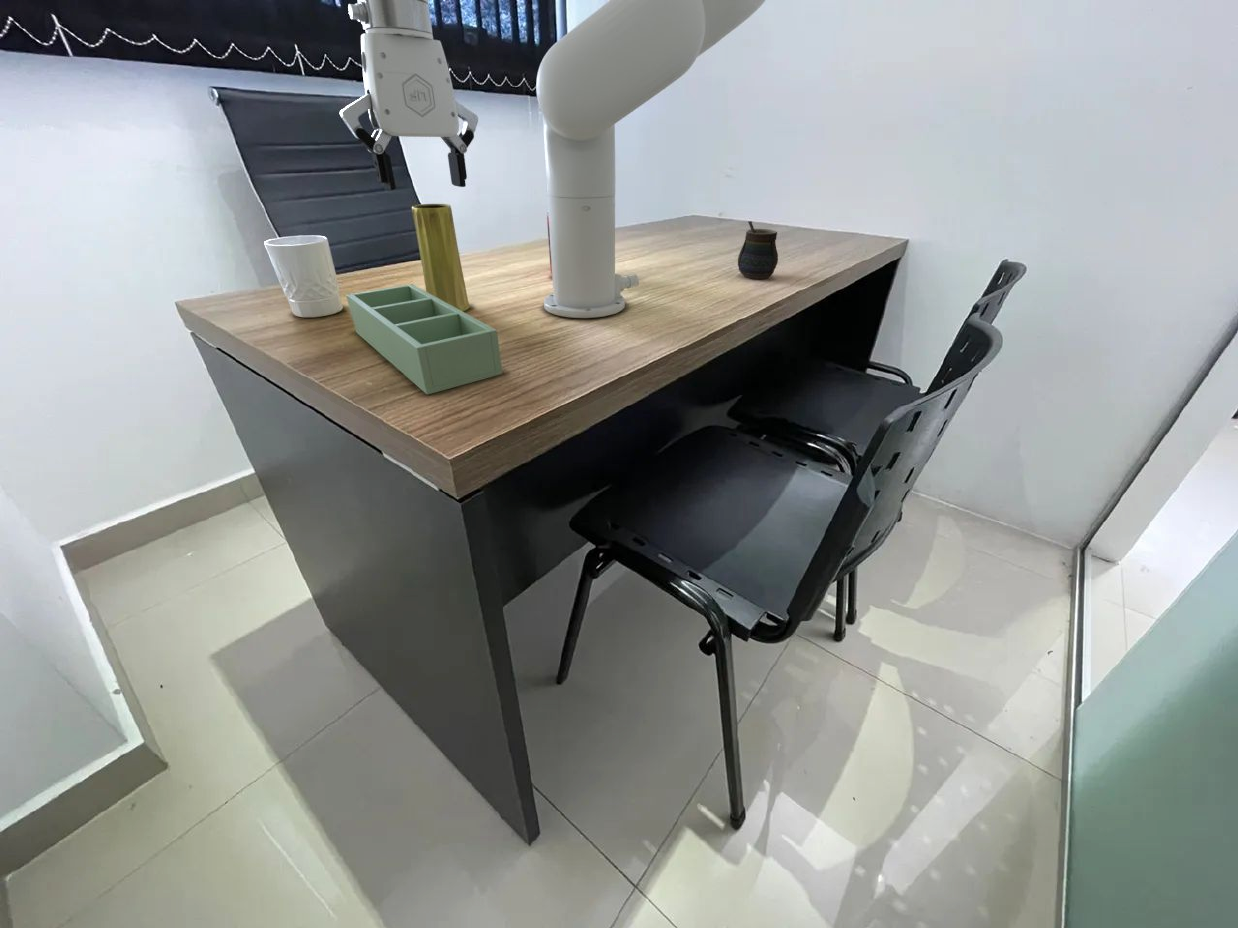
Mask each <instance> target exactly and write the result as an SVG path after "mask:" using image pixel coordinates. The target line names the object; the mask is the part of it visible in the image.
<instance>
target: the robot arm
mask: <svg viewBox="0 0 1238 928" xmlns="http://www.w3.org/2000/svg"><path fill="white" fill-rule="evenodd" d="M765 2H766V0H608V1H607V2H606V3H604V4H603V5H602V6H601V7H599V8H598V9H597V10H596V11H594V12H593V13H592V14H590V15H588V17H587V18H585V19H584V20H582V21H581V22H580V23H579V24H577V25H576V26H575V27H574V28H572V29H571V30H570V31H568V32H567V33H566V34H564V35H563V36H562V37H561V38H559V40H557V41H556V42H555V43H553V45H552V46H551V47H550V48H549V49H548V50H547V52H546V53H545V54H544V56H543V58H542V60H541V62H540V64H539V67H538V70H537V75H536V84H535V89H536V90H535V93H536V98H537V103H538V107H539V110H540V113H541V116H542V127H543V147H544V166H545V181H546V183H545V184H546V198H547V199H546V200H547V212H548V217H549V232H550V248H551V264H552V274H551V278H552V293H551V294H549V295H547V296H546V297H544V299H543V308H544V309H545V311H546V312H548V313H550V314H552V315H555V316H558V317H563V318H570V319H571V318H572V319H595V318H603V317H608V316H612V315H615V314H618V313H619V312H621V311H623V310H624V308H625V306H626V300H625V298H624V296H623V295H621V293H622V292H623V291H624V290H625V289H631V288H637V287H638V286H639V283H640V280H639V277H638V275H637V274H635V273H634V274H629V275H625V276H622V275H621V274H620V273H616V124H617V123H618V122H620V121H621V120H623V119H624V118H625V117H627V116H628V115H630V114H631V113H633V112H634V111H635V110H637V109H639V108H640V107H641V106H643V105H644V104H646V103H647V102H648V101H649V100H651V99H652V98H654V97H655V96H657V95H658V94H659V93H661V92H662V91H663V90H665V89H667V88H668V87H670V86H671V85H672V84H673V83H675V82H676V81H677V80H679V79H680V78H681V77H682V76H684V75H685V74H686V73H687V72H688V71H689V70H690V69H691V67H693V65H694V63H695V61H696V60H697V58H699V56H701V55H702V54H704V53H706V51H708V50H709V49H710V48H712V47H713V46H715V45H716V44H718V43H719V42H720V41H721V40H722V39H723V38H725V37H726V36H728V35H729V34H730V33H731V32H732V31H734V30H735V29H736V28H738V27H739V26H741V25H742V24H743V23H744V22H745V21H747V20H748V19H749V18H750V17H752V16H753V14H755V13H756V12H757V11H758V10H759V9H761V7H762V5H764V3H765ZM347 8H348V14H349V18H350V19H351V20H354V21H357V22H359V23H360V24H361V25H362V29H363V30H365V33H362V34H361V35H360V50H361V66H362V77H363V85H364V93H365V94H364V95H363V96H361V97H359V98H358V99H356V100H355V101H353V102H352V103H350V104H348V105H346V106H345V107H344V108H342V109H341V110H340V111H339V115H340V117H341V119H342V120H343V123H344V124H345V125H346V127H347V128H348V129H349V131H350V132H351V134H352V136H353V137H354V138H355V140H357V141H358V142H359V143H360V144H361V145H362V146H363V147H364V148H366V149H367V151H368V152H369V153H371V156H372V160H373V164H374V169H375V175H376V178H377V182H378V183H380V184H381V186H382V188H383V190H388V191H395V190H396V188H397V186H396V181H395V176H394V170H393V166H392V161H391V157H390V155H389V154H388V153H387V152H386V148H387V146H388V145H389V143H390V141H391V139H392V137H406V138H407V137H410V138H411V137H412V138H413V137H414V138H415V137H416V138H417V137H419V138H440V139H441V140H442V141H443V142H444V143H445V145H446V146H447V147H448V148H449V151H450V152H448V153H447V160H448V168H449V174H450V175H449V176H450V179H451V180H450V182H451V185H453V186H454V187H458V188H466V180H467V179H468V176H467V175H468V174H467V168H466V158H465V154H466V153H467V151H468V148H469V146H470V145H471V143H472V142H473V140H474V138H475V132H476V130H477V127H478V122H479V117H478V115H477V114H476V113H474V112H473V111H471V110H470V109H468V108H467V107H465V106H464V105H462V104H461V103H459V102H458V101H456V97H455V91H454V87H453V82H452V78H451V74H450V70H449V66H448V61H447V58H446V54H445V51H444V48H443V45H442V42H441V40H438V39H434V36H433V27H432V21H431V13H430V5H429V0H357V3H354V4H352V3H348V7H347ZM367 112H368V116H369V120H370V124H371V126H372V128H373V130H374V131H373V132H372V135H371V134H369V132H368V131H367V130H365V128H363V126H362V124H361V123H360V121H359V117H361V116H362V115H363V114H365V113H367ZM459 119H461V120H462V122H463V128H462V130H461V131H460V122H459ZM459 131H460V133H459ZM458 133H459V134H458Z"/></svg>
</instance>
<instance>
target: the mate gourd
mask: <svg viewBox="0 0 1238 928" xmlns="http://www.w3.org/2000/svg"><path fill="white" fill-rule="evenodd" d="M747 223H748V225H749V228H750V229H748V230H746V231H745V237H744V242H743V245H742V246H741V249H740V251H739V253H738V257H737V266H738V271H739V272H740V274H741V275H742V276H743V277H744V278H747V279H752V280H764V279H769V278H770V277H771V276H772V275H773V274H774V272H775V270H776V268H777V265H778V263H779V253H778V250H777V246H776V245H777V244H776V240H777V236H778V231H776V230H774V229H768V228H755V227H754V225H753V222H752V221H751V220H750V221H749V220H748V221H747Z"/></svg>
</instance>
